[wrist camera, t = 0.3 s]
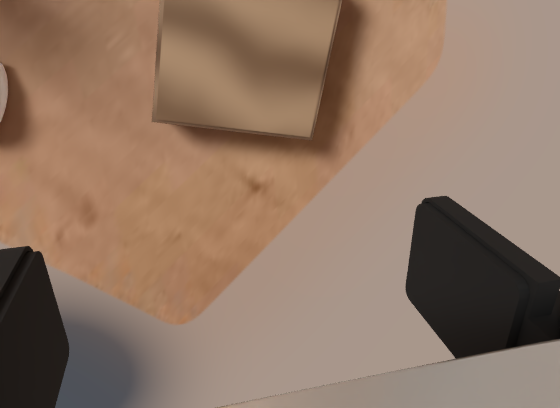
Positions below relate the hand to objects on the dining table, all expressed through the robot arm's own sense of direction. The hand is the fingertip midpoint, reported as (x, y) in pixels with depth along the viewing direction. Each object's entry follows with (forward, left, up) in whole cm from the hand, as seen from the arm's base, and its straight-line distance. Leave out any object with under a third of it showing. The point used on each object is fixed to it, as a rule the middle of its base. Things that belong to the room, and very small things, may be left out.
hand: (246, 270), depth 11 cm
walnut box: (-3, +4, -30) cm, 30 cm away
